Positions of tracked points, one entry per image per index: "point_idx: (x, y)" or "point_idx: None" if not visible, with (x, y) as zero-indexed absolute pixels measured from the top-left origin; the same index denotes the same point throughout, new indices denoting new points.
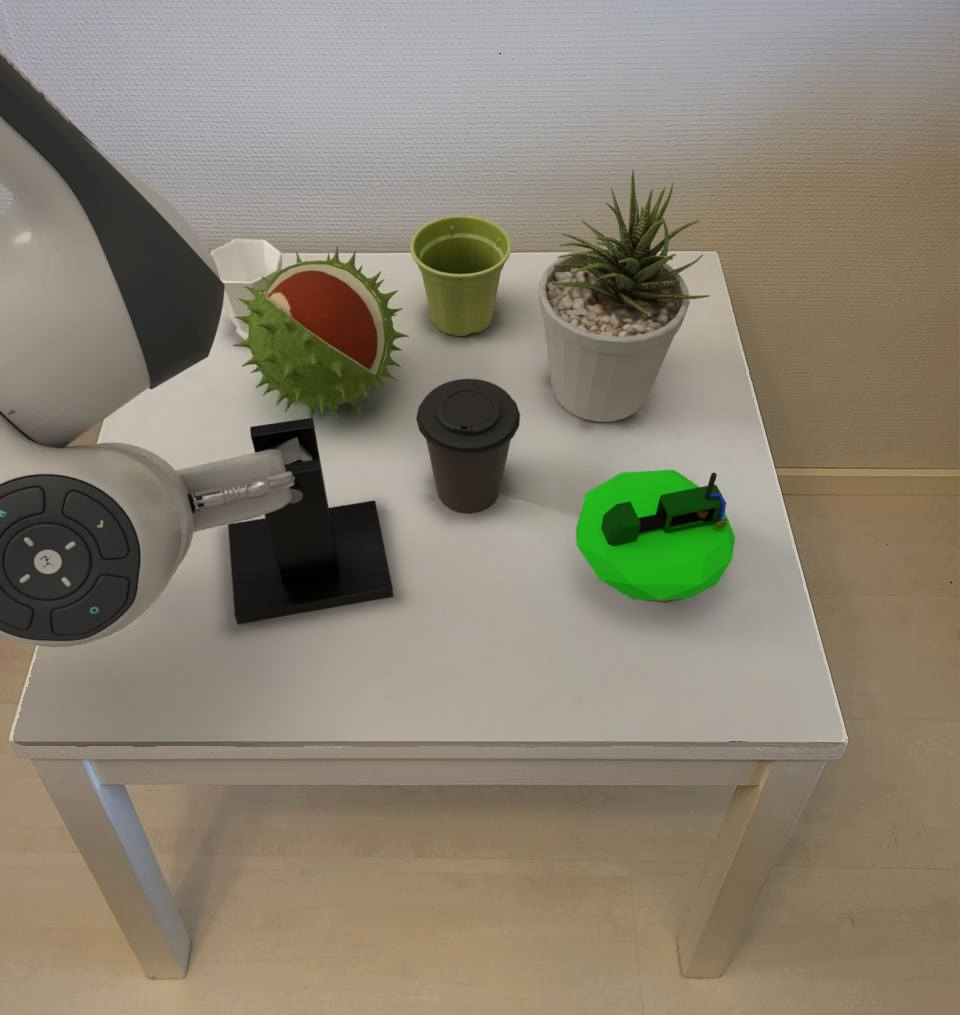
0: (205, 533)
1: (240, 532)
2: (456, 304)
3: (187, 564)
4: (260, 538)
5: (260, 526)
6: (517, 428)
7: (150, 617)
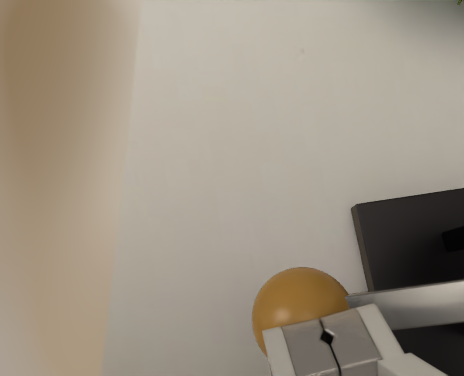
0: (310, 206)
1: (379, 222)
2: None
3: (291, 264)
4: (414, 237)
5: (410, 212)
6: None
7: (249, 364)
